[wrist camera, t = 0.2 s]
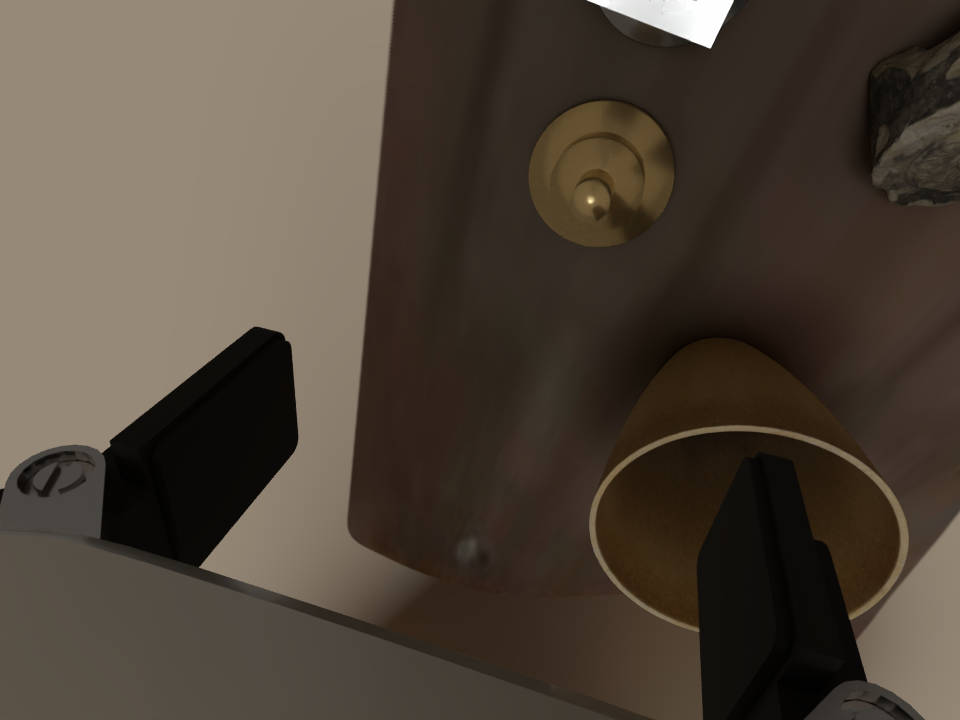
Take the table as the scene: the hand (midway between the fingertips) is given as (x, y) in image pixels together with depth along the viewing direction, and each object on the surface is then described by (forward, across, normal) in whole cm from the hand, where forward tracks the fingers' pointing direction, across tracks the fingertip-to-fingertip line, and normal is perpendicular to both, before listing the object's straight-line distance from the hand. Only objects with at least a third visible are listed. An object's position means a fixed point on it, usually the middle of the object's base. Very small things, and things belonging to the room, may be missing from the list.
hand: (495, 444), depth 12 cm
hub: (+30, 0, +2) cm, 30 cm away
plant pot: (+31, -11, +15) cm, 36 cm away
